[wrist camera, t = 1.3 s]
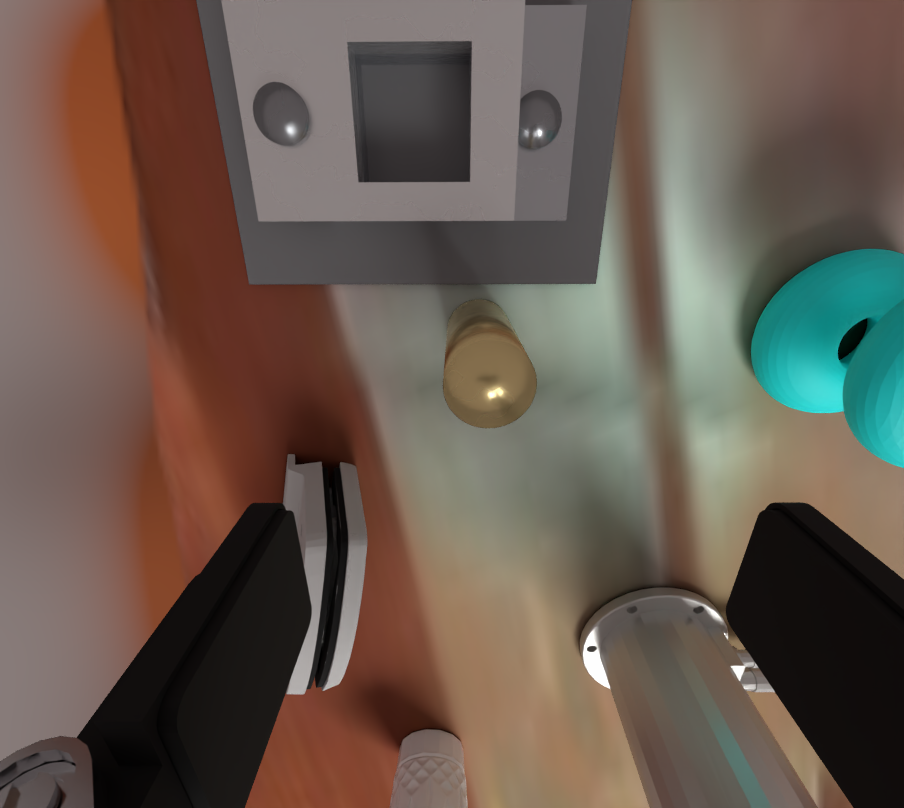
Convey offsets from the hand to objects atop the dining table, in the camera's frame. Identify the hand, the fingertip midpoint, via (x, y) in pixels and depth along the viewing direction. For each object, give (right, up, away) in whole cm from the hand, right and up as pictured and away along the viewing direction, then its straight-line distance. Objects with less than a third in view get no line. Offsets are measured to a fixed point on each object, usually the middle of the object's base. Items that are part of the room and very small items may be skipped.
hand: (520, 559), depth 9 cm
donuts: (+22, +8, +19) cm, 30 cm away
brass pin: (0, +8, +19) cm, 20 cm away
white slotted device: (-12, -8, +26) cm, 30 cm away
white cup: (-4, -33, +37) cm, 50 cm away
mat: (-3, +18, +14) cm, 23 cm away
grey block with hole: (-3, +18, +14) cm, 23 cm away
